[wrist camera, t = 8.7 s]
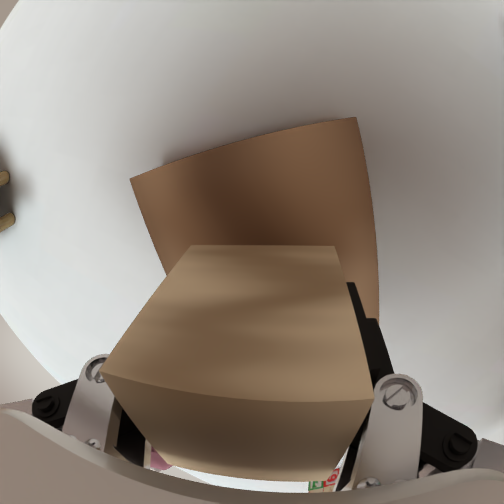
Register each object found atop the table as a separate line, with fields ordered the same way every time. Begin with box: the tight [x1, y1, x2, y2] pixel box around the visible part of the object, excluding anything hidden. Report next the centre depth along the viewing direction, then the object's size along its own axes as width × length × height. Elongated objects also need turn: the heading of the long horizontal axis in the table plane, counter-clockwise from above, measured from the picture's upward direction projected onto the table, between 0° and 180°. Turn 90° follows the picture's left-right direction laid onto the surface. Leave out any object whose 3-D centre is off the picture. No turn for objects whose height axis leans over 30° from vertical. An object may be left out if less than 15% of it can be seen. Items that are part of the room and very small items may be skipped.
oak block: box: [99, 245, 375, 482], centre depth 8 cm, size 5×5×6 cm
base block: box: [130, 117, 379, 324], centre depth 14 cm, size 10×12×4 cm
